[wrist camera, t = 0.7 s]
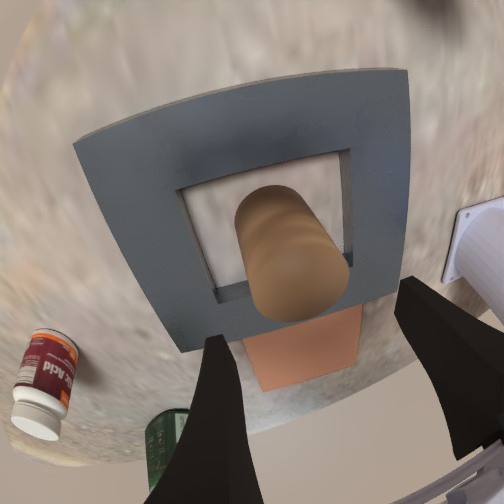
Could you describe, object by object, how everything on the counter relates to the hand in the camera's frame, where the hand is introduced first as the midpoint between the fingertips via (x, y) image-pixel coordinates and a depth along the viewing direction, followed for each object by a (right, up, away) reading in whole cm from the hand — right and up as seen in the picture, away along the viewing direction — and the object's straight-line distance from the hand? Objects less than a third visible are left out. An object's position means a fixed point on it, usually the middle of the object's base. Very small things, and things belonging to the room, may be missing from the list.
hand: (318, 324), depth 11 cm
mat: (+2, -6, +15) cm, 16 cm away
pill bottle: (-20, -5, +10) cm, 23 cm away
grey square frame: (-1, +5, +7) cm, 8 cm away
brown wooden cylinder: (-1, +5, +7) cm, 8 cm away
